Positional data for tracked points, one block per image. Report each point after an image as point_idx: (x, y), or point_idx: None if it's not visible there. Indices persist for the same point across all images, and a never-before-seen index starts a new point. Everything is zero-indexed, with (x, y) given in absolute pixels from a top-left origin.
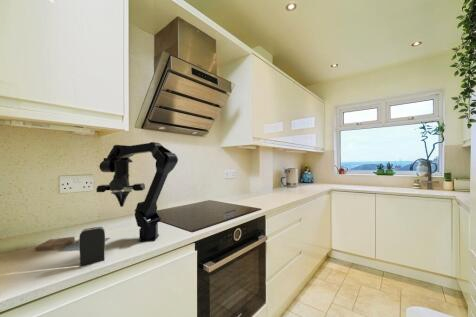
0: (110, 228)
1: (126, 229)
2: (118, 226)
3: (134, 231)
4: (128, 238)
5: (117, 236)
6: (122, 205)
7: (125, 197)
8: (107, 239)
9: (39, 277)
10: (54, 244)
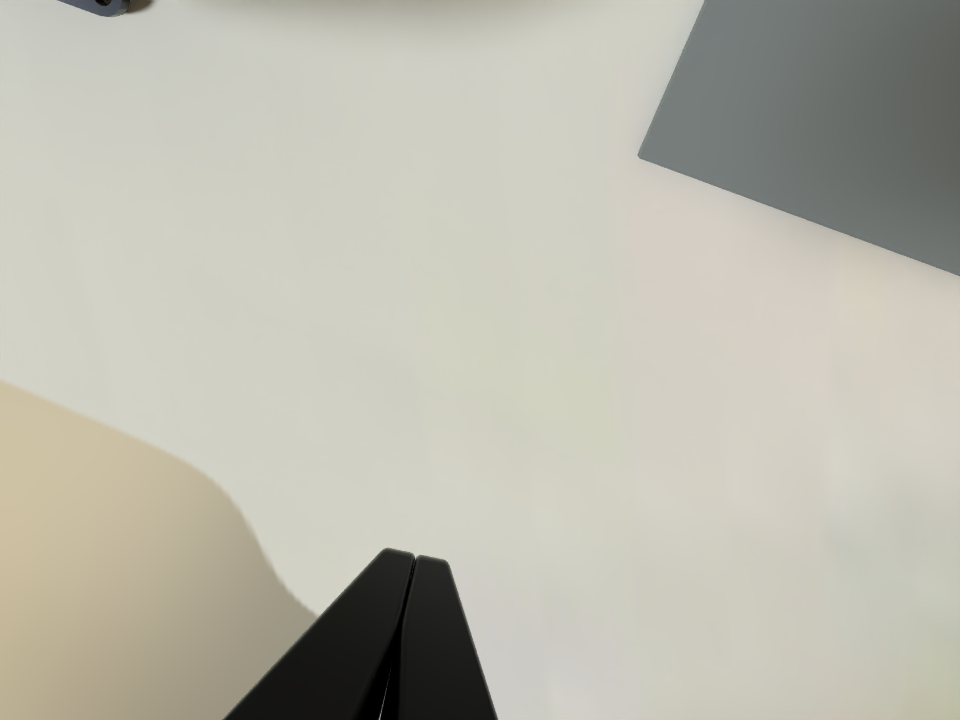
0: (656, 600)
1: (453, 473)
2: (564, 630)
3: (331, 338)
4: (370, 28)
5: (546, 220)
6: (377, 570)
7: None
8: (683, 87)
9: None
10: None
